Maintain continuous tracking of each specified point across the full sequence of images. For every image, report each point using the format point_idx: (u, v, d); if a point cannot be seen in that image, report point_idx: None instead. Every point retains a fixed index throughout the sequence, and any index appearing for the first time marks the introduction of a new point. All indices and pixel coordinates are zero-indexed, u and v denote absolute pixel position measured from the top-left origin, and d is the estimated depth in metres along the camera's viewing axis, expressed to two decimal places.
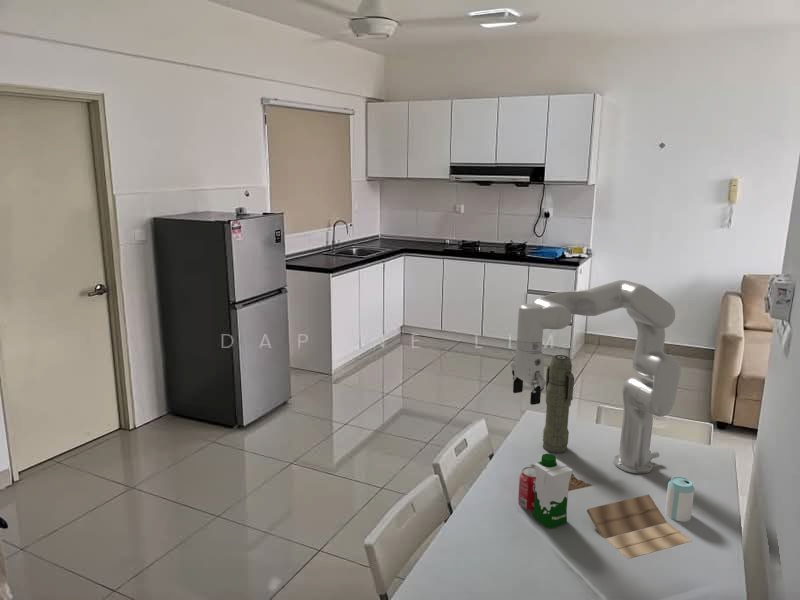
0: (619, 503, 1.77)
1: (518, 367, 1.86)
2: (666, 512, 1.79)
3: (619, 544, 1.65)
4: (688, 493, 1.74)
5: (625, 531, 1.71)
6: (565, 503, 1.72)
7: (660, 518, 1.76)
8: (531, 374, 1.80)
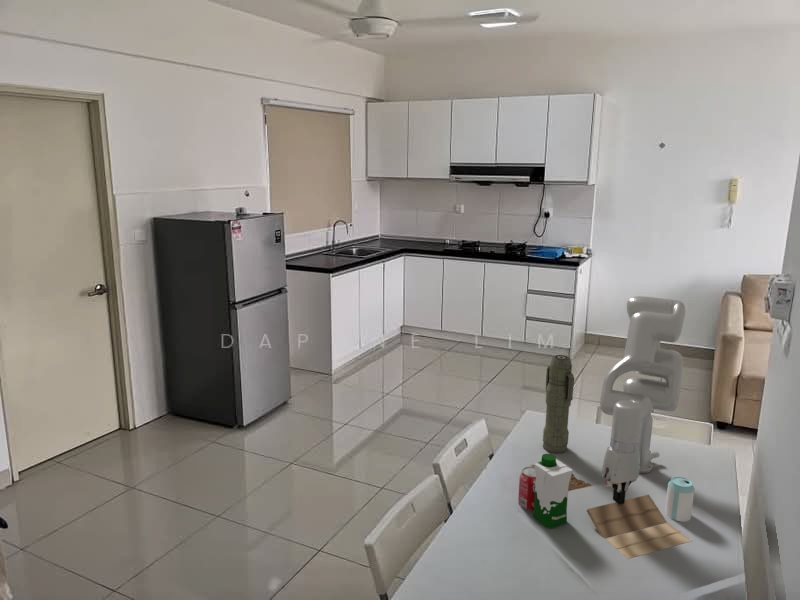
0: None
1: (623, 472, 1.73)
2: (666, 512, 1.79)
3: (619, 544, 1.65)
4: (688, 493, 1.74)
5: (625, 531, 1.71)
6: (565, 503, 1.72)
7: (660, 518, 1.76)
8: (639, 468, 1.75)
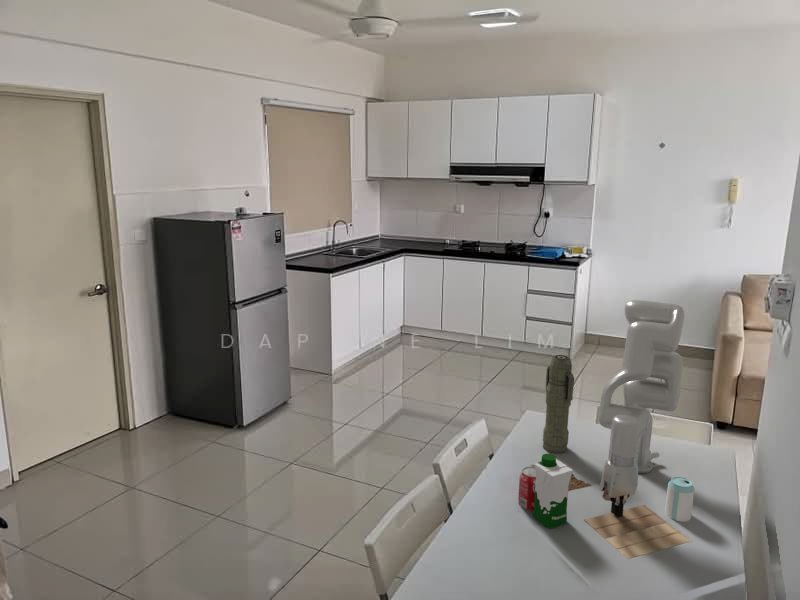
0: None
1: (621, 486, 1.74)
2: (666, 512, 1.79)
3: (619, 544, 1.65)
4: (688, 493, 1.74)
5: (625, 531, 1.71)
6: (565, 503, 1.72)
7: (659, 520, 1.76)
8: (637, 481, 1.77)
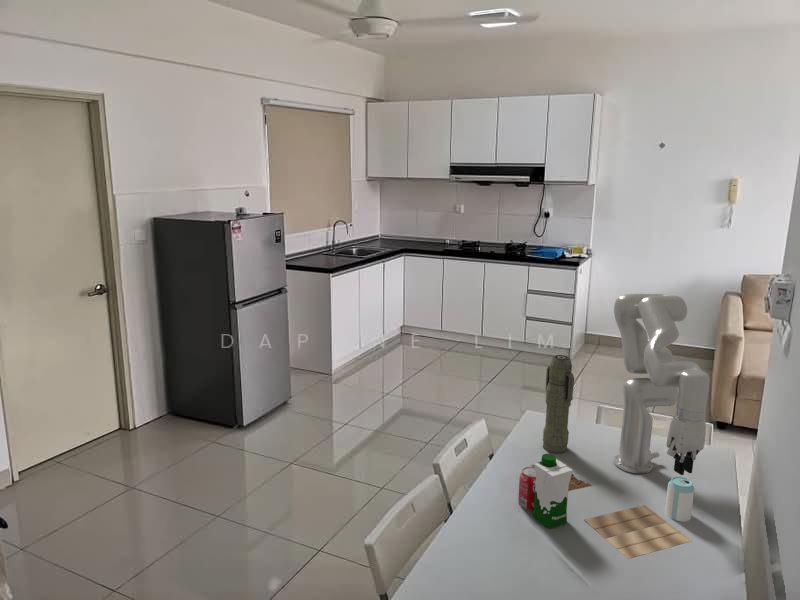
0: (615, 513, 1.79)
1: (689, 441, 1.71)
2: (666, 512, 1.79)
3: (619, 544, 1.65)
4: (688, 493, 1.74)
5: (625, 531, 1.71)
6: (565, 503, 1.72)
7: (659, 520, 1.76)
8: (704, 437, 1.74)
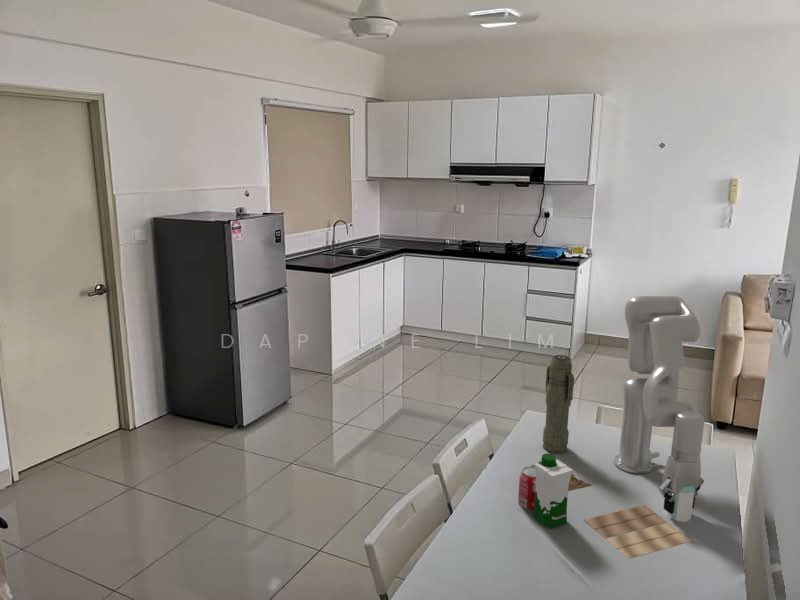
0: (615, 513, 1.79)
1: (684, 481, 1.74)
2: (666, 512, 1.79)
3: (619, 544, 1.65)
4: (688, 493, 1.74)
5: (625, 531, 1.71)
6: (565, 503, 1.72)
7: (659, 520, 1.76)
8: (700, 477, 1.77)
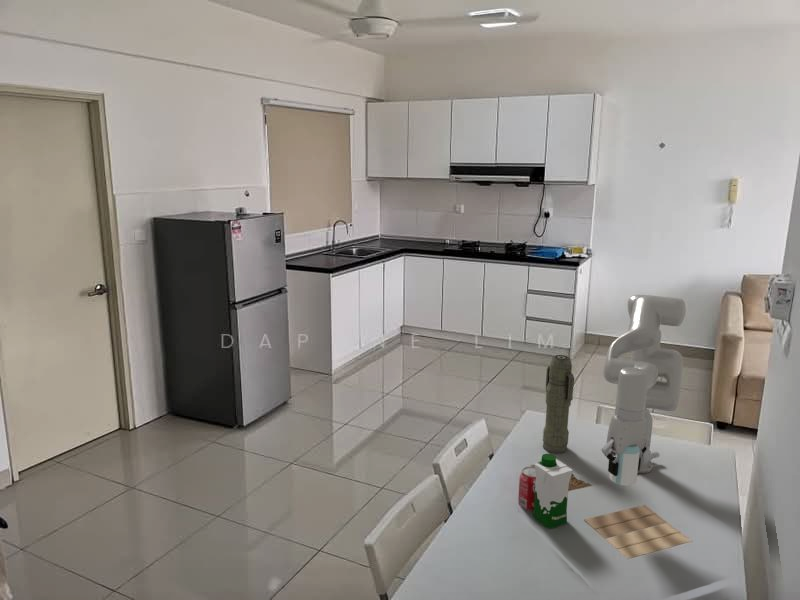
0: (615, 513, 1.79)
1: (628, 441, 1.66)
2: (611, 475, 1.71)
3: (619, 544, 1.65)
4: (632, 454, 1.66)
5: (625, 531, 1.71)
6: (565, 503, 1.72)
7: (659, 520, 1.76)
8: (645, 437, 1.69)
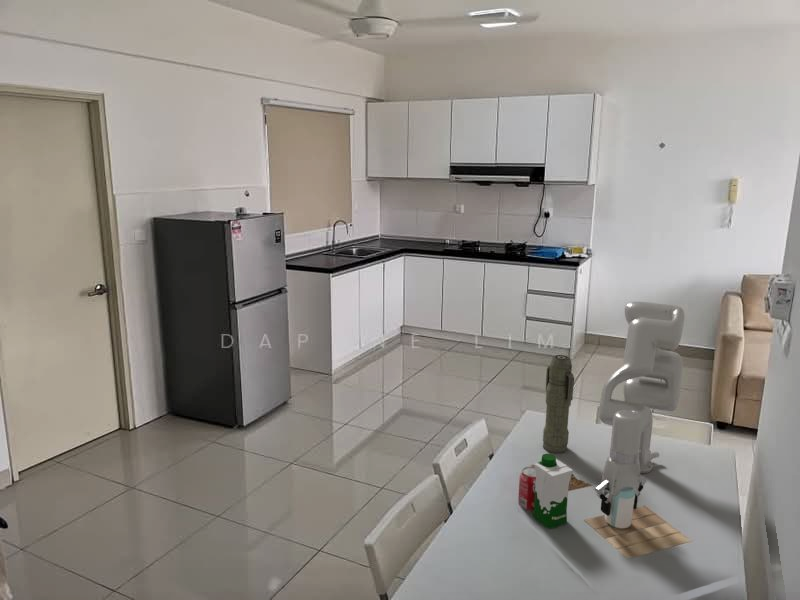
0: None
1: (622, 483, 1.69)
2: (606, 516, 1.74)
3: (619, 544, 1.65)
4: (628, 498, 1.69)
5: (625, 531, 1.71)
6: (565, 503, 1.72)
7: (659, 520, 1.76)
8: (639, 479, 1.72)
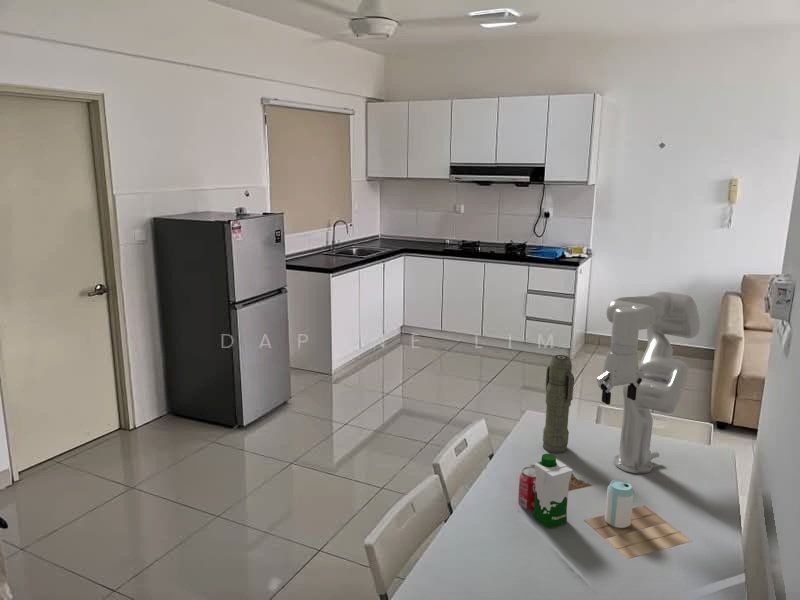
0: None
1: (622, 374, 1.83)
2: (606, 516, 1.74)
3: (619, 544, 1.65)
4: (626, 497, 1.69)
5: (625, 531, 1.71)
6: (565, 503, 1.72)
7: (659, 520, 1.76)
8: (637, 371, 1.86)
